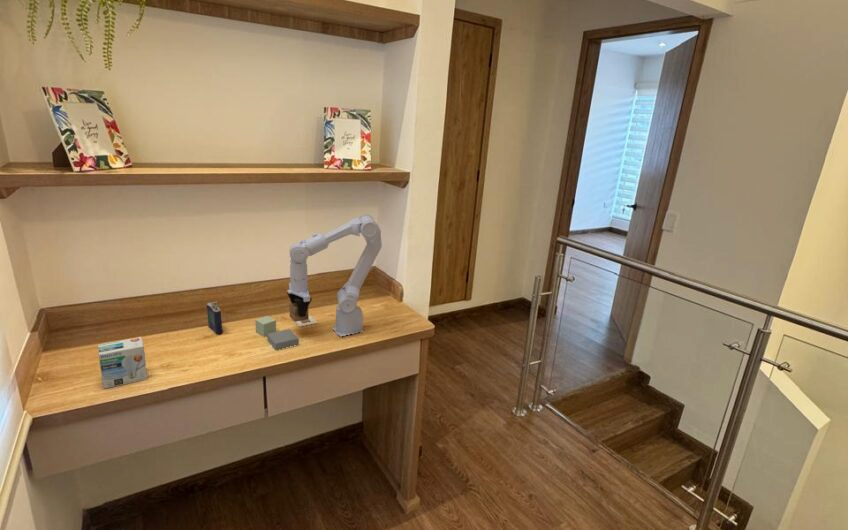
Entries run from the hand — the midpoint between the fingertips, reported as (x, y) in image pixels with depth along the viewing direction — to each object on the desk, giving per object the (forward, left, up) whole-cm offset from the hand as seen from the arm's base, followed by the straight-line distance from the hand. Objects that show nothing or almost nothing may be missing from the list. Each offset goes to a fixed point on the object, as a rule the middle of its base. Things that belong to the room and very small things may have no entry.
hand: (299, 313), depth 161 cm
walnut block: (0, 0, -2) cm, 2 cm away
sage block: (+10, -6, -8) cm, 14 cm away
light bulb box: (+53, +3, -8) cm, 54 cm away
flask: (+25, -16, -8) cm, 30 cm away
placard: (-5, -8, -8) cm, 13 cm away
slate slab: (+8, +4, -8) cm, 12 cm away
